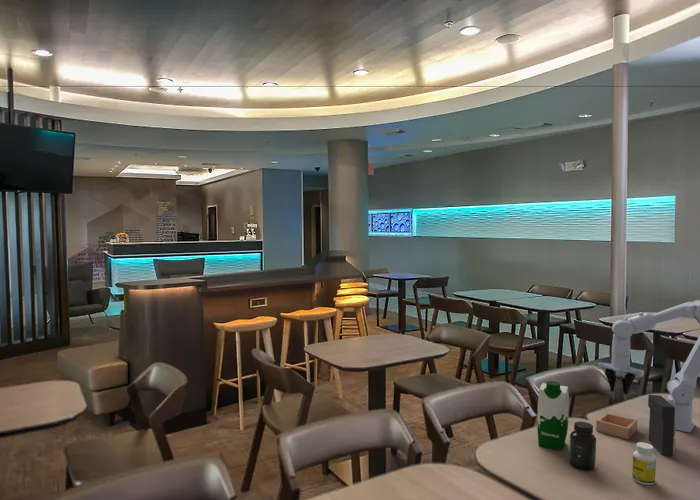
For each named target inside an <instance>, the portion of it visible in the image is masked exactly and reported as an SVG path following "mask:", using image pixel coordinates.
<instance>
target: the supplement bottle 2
mask: <svg viewBox="0 0 700 500" xmlns="http://www.w3.org/2000/svg"><path fill="white" fill-rule="evenodd" d="M635 445H636V447H635V449H636V450H635V451H634V452H633V453H632V474H631V475H632V477H631V478H632V479H633V481H634V482H636V483H638V484H641V485H643V486H644V485H645V486H652V485H654V484H655V483H656V475H657V473H656V469H657V457H656V455H655V454H654V446H653V444H650V443H647V442H641V441H640V442H639V441H638V442H637V443H636V444H635Z"/></svg>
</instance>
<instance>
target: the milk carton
mask: <svg viewBox="0 0 700 500" xmlns="http://www.w3.org/2000/svg"><path fill="white" fill-rule="evenodd" d="M569 401H570V395H569V386H565V385H561V383H560V382H559V381H546V383H545V382H542V383H541V385H540V387H539V390H538V399H537V424H536V425H537V426H536V427H537V429H536V430H537V440H538V442H537V443H538V447H543V448H548V449H553V450H557V451H563V450H564V448H565V442H566V440H567V435H568V429H569V408H570V405H569V404H570V403H569Z"/></svg>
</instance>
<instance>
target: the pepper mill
mask: <svg viewBox="0 0 700 500" xmlns="http://www.w3.org/2000/svg"><path fill="white" fill-rule="evenodd" d="M624 376H625V375H622V374H617V375H615V376H614V382H613V392H612V399H613V400H614V401H618V402H625V401H626V398H627V397H626V396H627V395H625V377H624Z"/></svg>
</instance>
